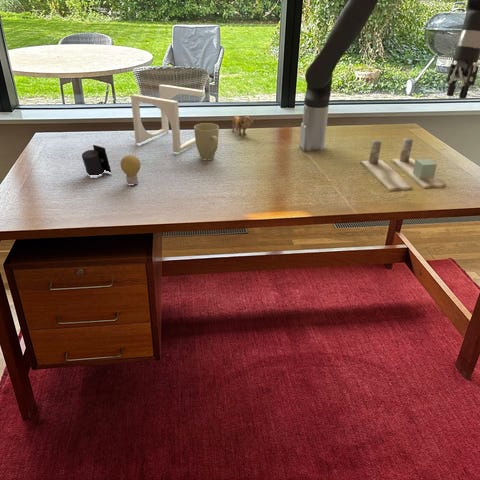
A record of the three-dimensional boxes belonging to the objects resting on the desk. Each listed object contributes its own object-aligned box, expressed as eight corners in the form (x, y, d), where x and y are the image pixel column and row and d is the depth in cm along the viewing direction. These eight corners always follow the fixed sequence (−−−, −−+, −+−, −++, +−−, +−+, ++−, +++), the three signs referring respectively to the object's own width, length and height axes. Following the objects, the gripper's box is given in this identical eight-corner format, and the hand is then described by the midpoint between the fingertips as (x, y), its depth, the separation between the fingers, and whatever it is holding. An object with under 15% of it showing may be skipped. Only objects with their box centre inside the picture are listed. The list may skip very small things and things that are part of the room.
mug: (189, 161, 181) (188, 129, 175) (201, 152, 189) (200, 121, 183) (216, 165, 178) (216, 133, 172) (227, 156, 186) (227, 125, 180)
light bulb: (145, 181, 165) (143, 153, 160) (136, 189, 160) (133, 160, 154) (129, 179, 166) (126, 151, 161) (119, 186, 161) (115, 158, 156)
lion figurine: (254, 136, 205) (254, 115, 201) (243, 139, 203) (243, 117, 198) (234, 127, 216) (235, 107, 211) (224, 129, 213) (224, 109, 209)
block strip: (423, 188, 160) (428, 163, 156) (391, 161, 181) (395, 138, 176) (445, 186, 162) (451, 161, 157) (411, 159, 182) (415, 137, 178)
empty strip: (389, 190, 159) (393, 165, 154) (360, 163, 179) (364, 139, 174) (412, 189, 160) (417, 163, 155) (381, 161, 180) (385, 138, 176)
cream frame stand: (165, 131, 210) (161, 84, 200) (205, 139, 202) (203, 90, 192) (135, 146, 195) (130, 95, 184) (177, 154, 187) (174, 102, 177)
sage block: (419, 178, 165) (422, 165, 162) (412, 173, 169) (415, 159, 167) (433, 178, 166) (436, 164, 163) (426, 172, 170) (429, 158, 167)
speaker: (105, 168, 173) (98, 142, 167) (112, 174, 170) (106, 147, 163) (84, 175, 170) (77, 148, 164) (91, 182, 166) (84, 154, 160)
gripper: (448, 45, 167) (435, 94, 172) (470, 44, 154) (456, 97, 159) (468, 47, 168) (455, 96, 173) (492, 47, 155) (477, 100, 160)
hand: (455, 97), depth 166 cm, fingers open, 8 cm apart
